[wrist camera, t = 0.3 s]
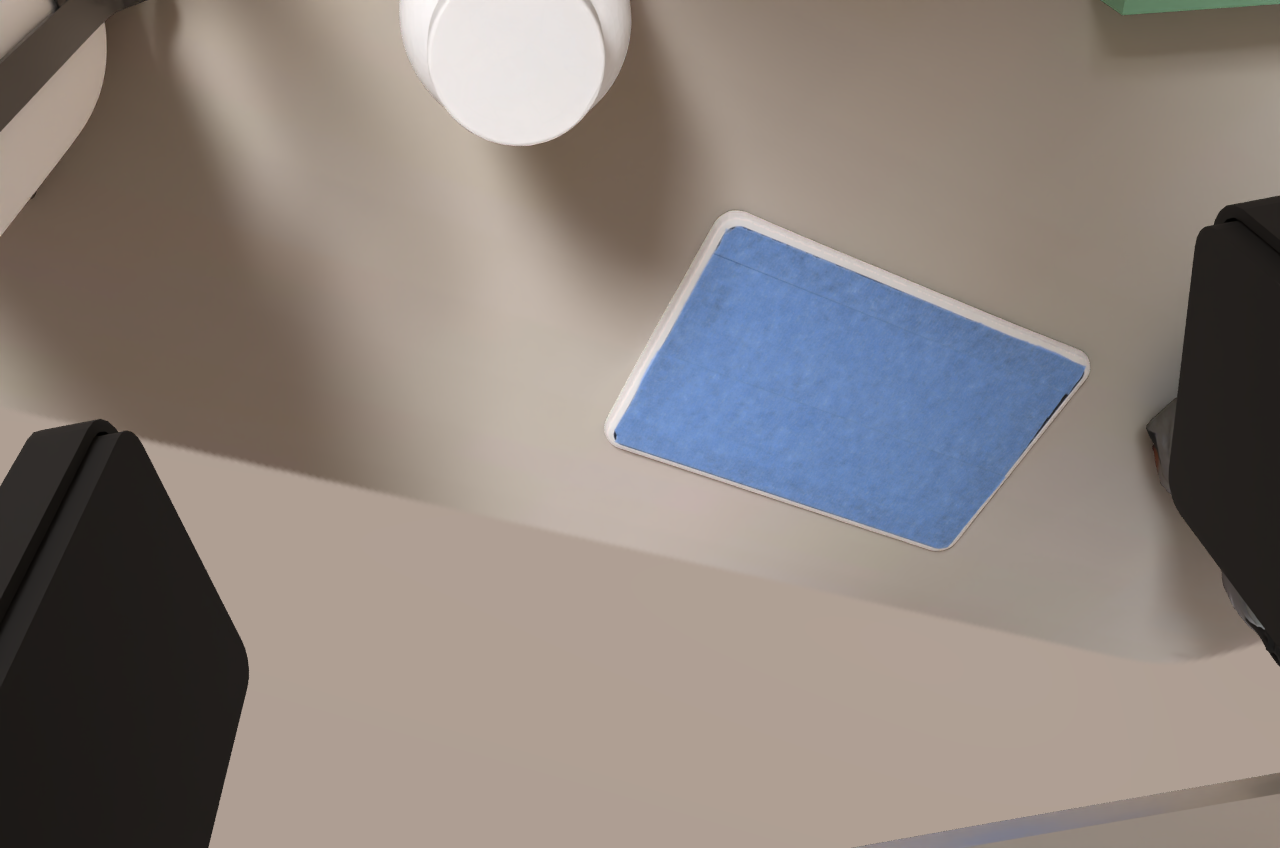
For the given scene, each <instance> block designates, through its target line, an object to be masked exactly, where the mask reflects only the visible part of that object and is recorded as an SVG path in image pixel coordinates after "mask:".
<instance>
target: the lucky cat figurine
mask: <svg viewBox="0 0 1280 848" xmlns="http://www.w3.org/2000/svg"><path fill="white" fill-rule="evenodd" d="M1176 403H1177V398H1176V399H1174V400H1173V401H1172V402H1171V403H1169V404H1168V405H1167V406H1166V407H1165V408H1164V409H1163V410H1162V411H1161V412H1160V413H1159V414H1158V415H1157V416H1155V417H1154V418H1153V419H1152V420H1151V421H1150V423H1149V424H1148V425H1147V428H1146V429H1147V431H1148V434H1149V436H1150V438H1151V440H1152V442H1153V443H1154V444H1153V446H1152V449H1153V451H1154V456H1155V462H1156V467H1157V472H1158V475H1159V478H1160V483H1161V485H1162V486H1164V487H1165V488H1166V490H1167V491H1168V492H1169V493H1170V494H1171V491H1170V487H1169V479H1168V477H1169V463H1170V454H1171V446H1172V437H1173V429H1174V420H1175V412H1176ZM1221 571H1222V570H1221ZM1222 580H1223V586H1224V588H1225V590H1226V592H1227V594H1228V597H1229V599H1230V601H1231V603H1232V605H1233V607H1234V609H1236V611H1237V612H1238V614H1239V615H1240V616H1241V618H1242V619H1243V620H1244V621H1245V623H1246V624H1247V625H1248V626H1249V627H1250V628H1252V629H1253V630H1254V631H1255V632H1256V633H1257V634H1258V635H1259V636H1260V638H1261V639H1262V641H1263V643H1264V645H1265V647H1266V650H1267V651H1268V652H1269V653H1270V655H1271V656H1272V657H1273V659H1274V660H1275V661H1276V663H1277V664H1278V665H1279V666H1280V649H1279V647H1278V646H1277V645H1276V643H1275V642H1274V641H1273V639H1272V638H1271V637H1270V635H1269V634H1268V633H1267V631H1266V630H1265V628H1264V627H1263V626H1262V624H1261V623H1260V622H1259V620H1258V619H1257V618H1256V616H1255V615H1254V614H1253V612H1252V611H1251V609H1250V608H1249V607H1248V605H1247V604H1246V603H1245V601H1244V600H1243V599H1242V597H1241V596H1240V595H1239V593H1238V592H1237V591H1236V589H1235V588H1234V586H1233V585H1232V584H1231V582H1230V581H1229V580H1228V578H1227V577H1226V576H1225V574H1224V573H1223V572H1222Z"/></svg>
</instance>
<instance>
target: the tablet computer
mask: <svg viewBox="0 0 1280 848" xmlns="http://www.w3.org/2000/svg"><path fill="white" fill-rule="evenodd" d="M1089 373H1090V363H1089V358H1088V357H1087V355H1086V354H1085V353H1084V352H1082V351H1081V350H1079V349H1077V348H1074V347H1072V346H1069V345H1066V344H1064V343H1061V342H1059V341H1056V340H1054V339H1051V338H1049V337H1046V336H1044V335H1041V334H1039V333H1036V332H1033V331H1031V330H1028V329H1026V328H1023V327H1021V326H1018V325H1016V324H1013V323H1011V322H1008V321H1006V320H1003V319H1001V318H999V317H996V316H994V315H991V314H989V313H987V312H984V311H982V310H979V309H977V308H975V307H972V306H970V305H967V304H965V303H963V302H960V301H958V300H955V299H953V298H950V297H948V296H945V295H943V294H941V293H938V292H936V291H933V290H931V289H928V288H926V287H924V286H921V285H919V284H917V283H914V282H912V281H909V280H907V279H905V278H902V277H900V276H898V275H895V274H893V273H890V272H888V271H886V270H883V269H881V268H878V267H876V266H873V265H871V264H869V263H866V262H864V261H861V260H859V259H856V258H854V257H851V256H849V255H847V254H844V253H842V252H839V251H837V250H834V249H832V248H830V247H827V246H825V245H823V244H820V243H818V242H815V241H813V240H811V239H808V238H806V237H803V236H801V235H799V234H796V233H794V232H792V231H789V230H787V229H784V228H782V227H780V226H777V225H775V224H773V223H770V222H768V221H766V220H763V219H761V218H759V217H757V216H754V215H752V214H749V213H747V212H744V211H738V210H734V211H728V212H726V213H724V214H723V215H721V216H720V217H718V219H717V220H716V221H715V223H714V224H713V226H712V228H711V229H710V231H709V233H708V235H707V236H706V238H705V240H704V242H703V243H702V245H701V247H700V249H699V250H698V252H697V254H696V256H695V258H694V259H693V261H692V263H691V265H690V267H689V268H688V270H687V272H686V274H685V276H684V278H683V279H682V281H681V283H680V285H679V287H678V288H677V290H676V292H675V294H674V296H673V297H672V299H671V301H670V303H669V304H668V306H667V308H666V310H665V311H664V313H663V315H662V317H661V318H660V320H659V322H658V324H657V326H656V328H655V330H654V331H653V333H652V335H651V337H650V339H649V341H648V343H647V344H646V346H645V348H644V350H643V352H642V354H641V355H640V357H639V359H638V361H637V363H636V365H635V367H634V368H633V370H632V372H631V374H630V376H629V378H628V379H627V381H626V383H625V385H624V387H623V389H622V391H621V392H620V394H619V396H618V398H617V400H616V402H615V404H614V406H613V407H612V409H611V411H610V413H609V415H608V417H607V419H606V421H605V425H604V433H605V436H606V438H607V439H608V441H609V442H610V443H611V444H612V445H614V446H615V447H617V448H620V449H623V450H627V451H630V452H632V453H635V454H638V455H642V456H645V457H647V458H650V459H654V460H657V461H660V462H663V463H666V464H669V465H672V466H675V467H678V468H681V469H684V470H687V471H690V472H694V473H697V474H700V475H703V476H706V477H709V478H712V479H715V480H718V481H721V482H724V483H727V484H730V485H733V486H736V487H739V488H742V489H745V490H748V491H751V492H754V493H757V494H760V495H763V496H767V497H770V498H773V499H776V500H779V501H782V502H785V503H788V504H791V505H794V506H797V507H800V508H803V509H806V510H809V511H813V512H816V513H819V514H822V515H825V516H828V517H831V518H834V519H837V520H839V521H842V522H845V523H848V524H851V525H855V526H858V527H861V528H863V529H866V530H869V531H872V532H876V533H879V534H882V535H886V536H889V537H892V538H895V539H898V540H901V541H904V542H907V543H909V544H913V545H916V546H919V547H922V548H925V549H928V550H931V551H942V550H946V549H948V548H950V547H952V546H953V545H954V544H955V543H956V542H957V541H958V539H959V538H960V537H961V536H962V534H963V533H964V532H965V530H966V529H967V528H968V527H969V525H970V524H971V523H972V522H973V520H974V519H975V518H976V517H977V515H978V514H979V513H980V511H981V510H982V509H983V508H984V506H985V505H986V504H987V503H988V501H989V500H990V499H991V498H992V496H993V495H994V494H995V493H996V491H997V490H998V489H999V488H1000V486H1001V485H1002V484H1003V483H1004V481H1005V480H1006V479H1007V478H1008V477H1009V475H1010V474H1011V473H1012V471H1013V470H1014V469H1015V468H1016V466H1017V465H1018V464H1019V463H1020V461H1021V460H1022V459H1023V458H1024V456H1025V455H1026V454H1027V453H1028V451H1029V450H1030V449H1031V447H1032V446H1033V445H1034V444H1035V443H1036V441H1037V440H1038V439H1039V438H1040V436H1041V435H1042V434H1043V432H1044V431H1045V430H1046V429H1047V428H1048V426H1049V425H1050V424H1051V423H1052V421H1053V420H1054V419H1055V418H1056V416H1057V415H1058V414H1059V413H1060V411H1061V410H1062V409H1063V407H1064V406H1065V405H1066V404H1067V402H1068V401H1069V400H1070V399H1071V397H1072V396H1073V395H1074V394H1075V392H1076V391H1077V390H1078V389H1079V387H1080V386H1081V385H1082V384H1083V382H1084V381H1085V380H1086V379H1087V377H1088V376H1089Z"/></svg>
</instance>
